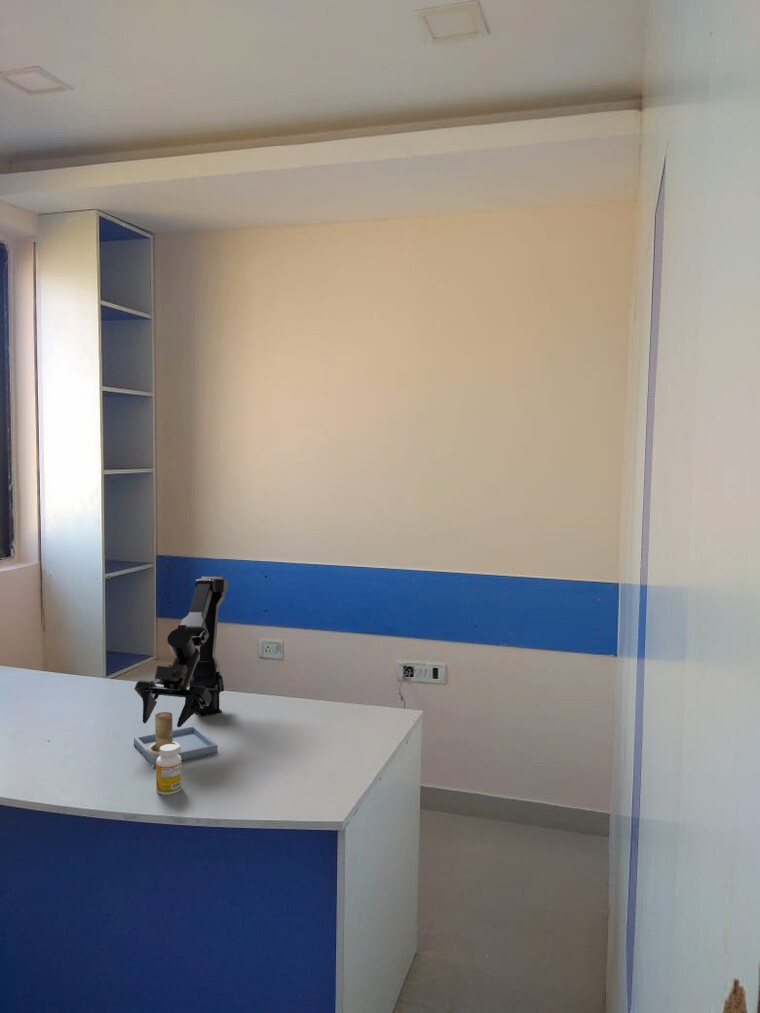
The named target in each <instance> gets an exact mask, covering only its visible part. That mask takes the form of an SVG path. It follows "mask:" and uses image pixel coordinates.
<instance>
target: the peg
mask: <svg viewBox="0 0 760 1013" xmlns="http://www.w3.org/2000/svg"><path fill="white" fill-rule="evenodd" d="M154 717H155V718H154V720H155V723H154V725H155V730H154V731H155V732H154V733H155V737H156V751H157V752H160V747H161V746H163V745H166V744H173V738H172V730H173V713H172V712H170V711H164V712H163V711H161V712H159V713H155V716H154Z"/></svg>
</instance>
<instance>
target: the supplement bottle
mask: <svg viewBox="0 0 760 1013" xmlns="http://www.w3.org/2000/svg"><path fill="white" fill-rule="evenodd" d="M155 769H156V771H155V772H156V773H155V777H156V778H155V779H156V780H155V781H156V782H155V784H156V786H155V787H156V788H155V789H156V790H155V791H156V792H157V793H158V794H160V795H164V796H168V795H169V796H170V795H174V794H177V793H179V792H180V791H181V790H182V787H183V786H182V782H183V781H182V779H183V778H182V774H183V773H182V761H181V756H180V755H178V746H177V745H175V744H166V745H163V746H161V747H160V756H159V757H158V758H157V760H156V766H155Z"/></svg>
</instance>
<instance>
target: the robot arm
mask: <svg viewBox="0 0 760 1013" xmlns="http://www.w3.org/2000/svg"><path fill="white" fill-rule="evenodd" d="M194 588H195V589H194V594H193V597H192V600H191V604H190V607H189V611H188V614H187V615H186V616H185V617H184V618H182V619H181V621H180V623H179V624H178V625H177V628H175V629H173V630H172V631H170V633H169V634H168V635H167V638H166V640H167V644H168V646H169V649H170V651H171V654H172V656H174V660H173V662H172V664H169V665H168V666H167V665H157V666H156V670H155V675H154V680H157V679H158V680H159V683H160V685H162V686H157V684H156V683H155V682H154V681H153V680H143V679H140V680H138V681H137V682H136V684H135V686H134V691H135V692H136V693H137V694H138V696H139V697H140V698H141V699H142V723H143V724H146V723H147V722H148V721H149V719H150V717H151V715H152V713H153V711H154V709H155V707H156V706H157V703H158V702H157V699H159V696H165V697H166V696H168V697H175V698H176V697H177V698H185V700H184V705H183V707H182V710H181V711H180V715H179V717H178V719H177V723H176V726H177V728H182V726H183V725H184V724H185V723H186V722H187V721H188V720H189V719H190V718H191V716H193V715H194V714H197V715H198V716H200V717H204V716H209V715H215V714H219V713H220V714H221V713H222V712H223V711H222V709H220V694H221V692H224V691H225V681H224V677H223V674H222V671H221V666H220V664H219V662H218V660H217V659H216V650H217V635H218V622H219V611H220V610H219V608H220V606H221V604H222V603H223V602H224V600H225V599H226V593H227V592H228V589H229V582H228V580H227V579H225V577H224V576H223V575H221V576H219V575H217V576H216V575H202V576H201V577H200V578H197V579H195V586H194ZM197 647H199V649H198V648H197ZM188 687H189V688H188Z"/></svg>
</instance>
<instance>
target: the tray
mask: <svg viewBox="0 0 760 1013" xmlns="http://www.w3.org/2000/svg"><path fill="white" fill-rule="evenodd" d="M172 738H173V744H175V745H177V746H178V755H180V756H181V760H183V761H186V760H185V759H187V760H191V759H190V758H192V759H195V757H196V758H200V756H201V757H204V756H203V755H205V756H209V755H208V754H210V755H213V754H218V752H219V751H218V744H217V743H216V742H215V741H214V740H212V739H211V738H210V737H209V736H207V734H205V733H204V732H203V731H201V729H199V728H198V727H197V726H196V725H189V726H184V727H178V728H175V729H172ZM134 745H135V746H136V747H137V748H138V749H137V748H136V747H135V746H134ZM133 746H134V747H135V748H136V749H137V750H138V751H139V752H140V753H141V755H142V754H143V755H144V756H145V757H146V758H145V757H144V756H143V757H144V758H145V759H146V760H147V761H148V762H149V764H150V765H151V764H152V765H153V766H155V767H156V760H157V758H158V757H159V756H160V752H157V751H156V737H155V732H154V733H149V734H144V735H138V736H135V737H133ZM152 765H151V766H152ZM153 766H152V767H153Z"/></svg>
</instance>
